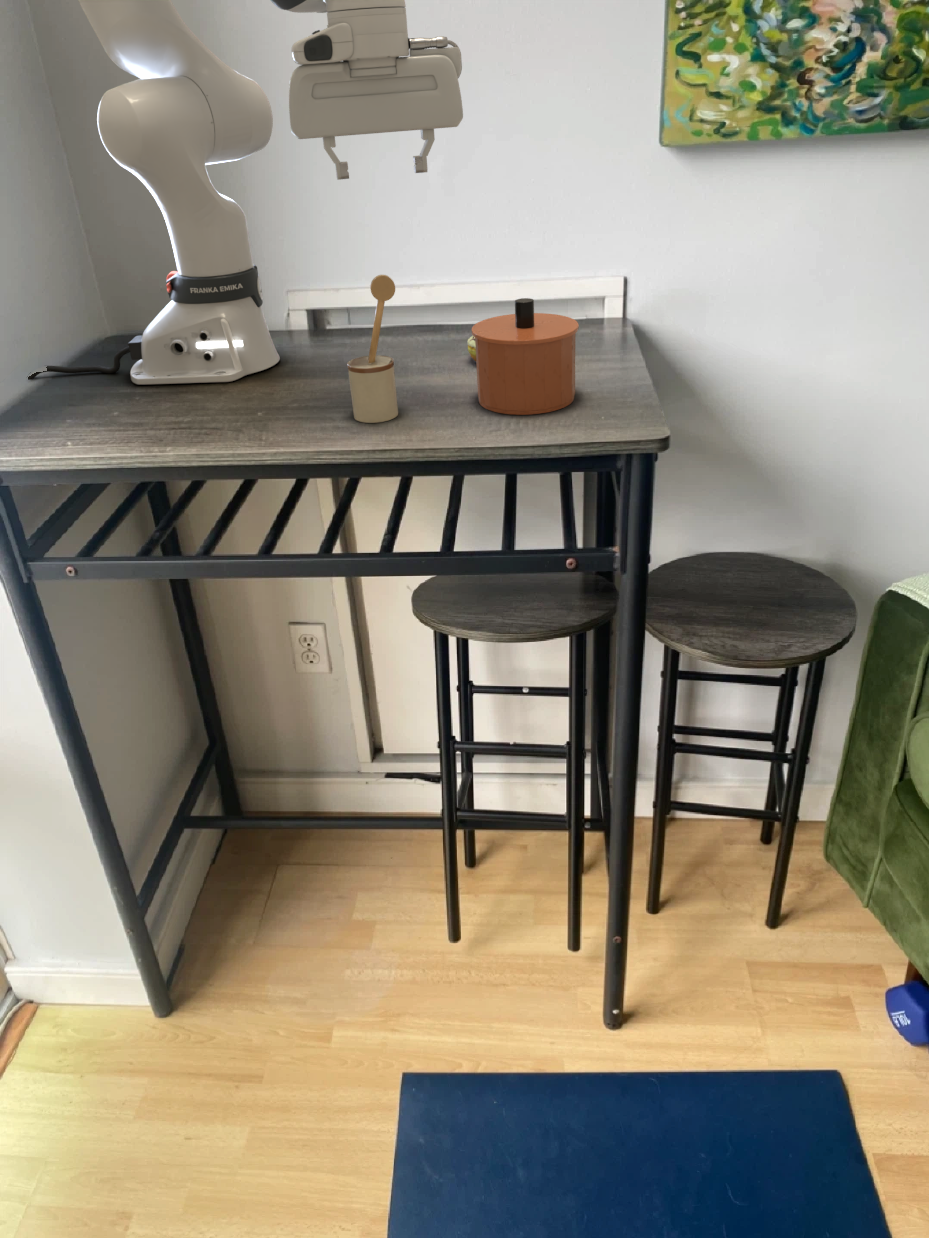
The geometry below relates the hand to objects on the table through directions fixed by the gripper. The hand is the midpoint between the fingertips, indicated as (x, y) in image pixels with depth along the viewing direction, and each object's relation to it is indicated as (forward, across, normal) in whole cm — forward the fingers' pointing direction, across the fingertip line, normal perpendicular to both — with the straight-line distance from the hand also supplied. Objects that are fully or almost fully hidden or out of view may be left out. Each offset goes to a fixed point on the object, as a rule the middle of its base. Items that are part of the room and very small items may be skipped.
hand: (382, 175), depth 113 cm
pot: (+28, -16, +5) cm, 32 cm away
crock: (+28, +4, +6) cm, 28 cm away
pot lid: (+19, -16, +5) cm, 25 cm away
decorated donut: (+28, -16, -14) cm, 35 cm away
